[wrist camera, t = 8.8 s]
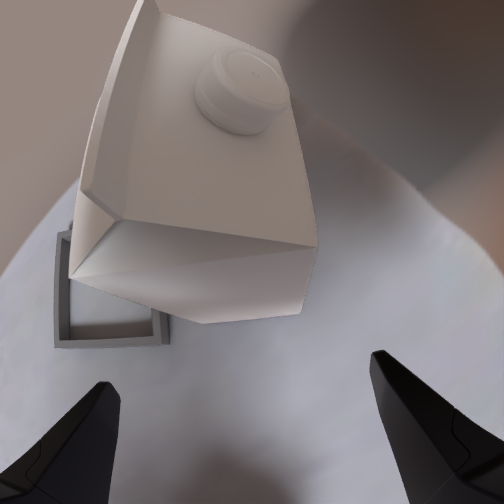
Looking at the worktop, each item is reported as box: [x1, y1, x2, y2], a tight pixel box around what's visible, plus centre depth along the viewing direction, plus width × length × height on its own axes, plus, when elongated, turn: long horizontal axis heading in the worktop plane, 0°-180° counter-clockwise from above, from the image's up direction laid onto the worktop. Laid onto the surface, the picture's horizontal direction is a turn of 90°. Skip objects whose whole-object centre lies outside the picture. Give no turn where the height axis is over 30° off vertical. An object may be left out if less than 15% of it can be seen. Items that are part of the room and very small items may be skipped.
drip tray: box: [54, 229, 170, 349], centre depth 23 cm, size 10×10×2 cm
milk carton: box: [69, 0, 318, 324], centre depth 14 cm, size 7×7×19 cm
